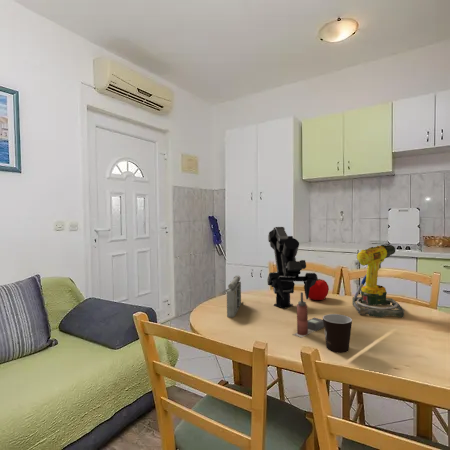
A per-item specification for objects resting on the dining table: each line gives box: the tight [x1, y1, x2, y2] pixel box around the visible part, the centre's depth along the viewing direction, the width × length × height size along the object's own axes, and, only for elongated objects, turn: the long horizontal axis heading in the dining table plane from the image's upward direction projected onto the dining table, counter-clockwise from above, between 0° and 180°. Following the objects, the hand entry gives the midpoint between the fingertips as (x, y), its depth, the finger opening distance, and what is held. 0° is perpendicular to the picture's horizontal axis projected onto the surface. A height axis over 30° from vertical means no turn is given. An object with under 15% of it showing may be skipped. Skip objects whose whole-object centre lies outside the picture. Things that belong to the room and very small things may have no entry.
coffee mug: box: [322, 313, 353, 354], centre depth 99 cm, size 12×9×10 cm
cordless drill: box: [351, 244, 405, 318], centre depth 135 cm, size 18×19×28 cm
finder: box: [308, 317, 324, 332], centre depth 115 cm, size 6×4×3 cm
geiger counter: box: [221, 274, 242, 318], centre depth 143 cm, size 14×6×25 cm
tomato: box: [308, 278, 330, 301], centre depth 154 cm, size 12×12×10 cm
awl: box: [296, 292, 309, 336], centre depth 110 cm, size 4×4×14 cm
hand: (295, 298), depth 118 cm, fingers open, 9 cm apart
